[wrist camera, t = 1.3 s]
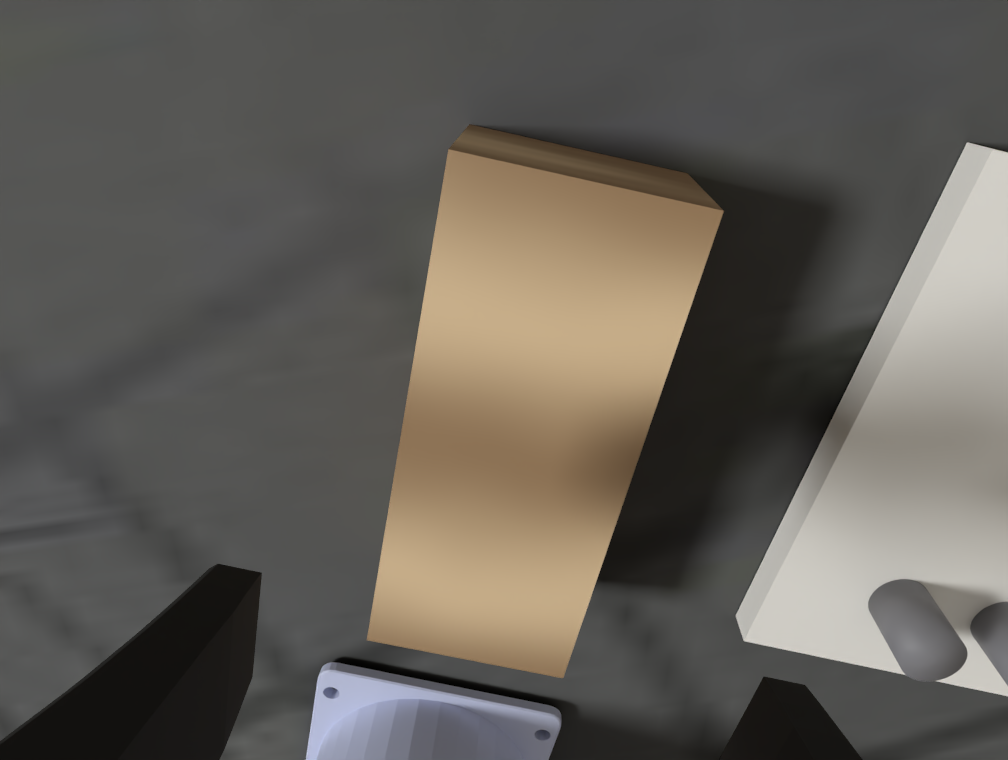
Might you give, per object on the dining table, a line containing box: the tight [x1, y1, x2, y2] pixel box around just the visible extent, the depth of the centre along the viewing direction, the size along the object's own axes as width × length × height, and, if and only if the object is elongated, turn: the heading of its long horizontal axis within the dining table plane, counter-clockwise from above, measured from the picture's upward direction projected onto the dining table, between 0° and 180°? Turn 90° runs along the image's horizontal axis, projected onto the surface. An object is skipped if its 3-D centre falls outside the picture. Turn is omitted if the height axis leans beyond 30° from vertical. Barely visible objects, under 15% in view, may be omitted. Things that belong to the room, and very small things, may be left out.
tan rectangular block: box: [367, 124, 724, 678], centre depth 17 cm, size 12×5×4 cm, turn 168°
